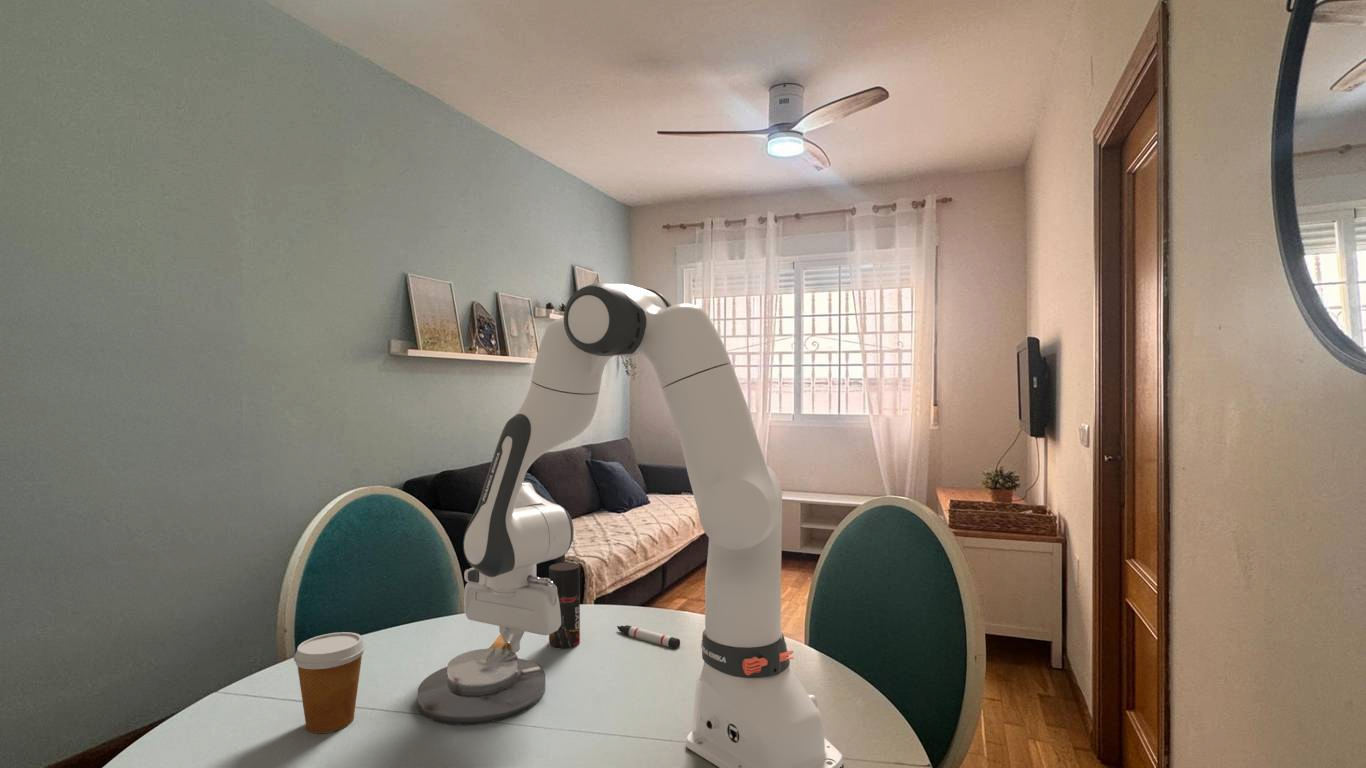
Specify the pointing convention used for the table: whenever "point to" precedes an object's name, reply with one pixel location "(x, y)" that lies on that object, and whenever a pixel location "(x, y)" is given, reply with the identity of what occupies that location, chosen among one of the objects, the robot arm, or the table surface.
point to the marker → (650, 636)
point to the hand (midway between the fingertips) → (512, 651)
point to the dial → (483, 670)
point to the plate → (480, 698)
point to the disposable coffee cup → (329, 679)
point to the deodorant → (566, 604)
